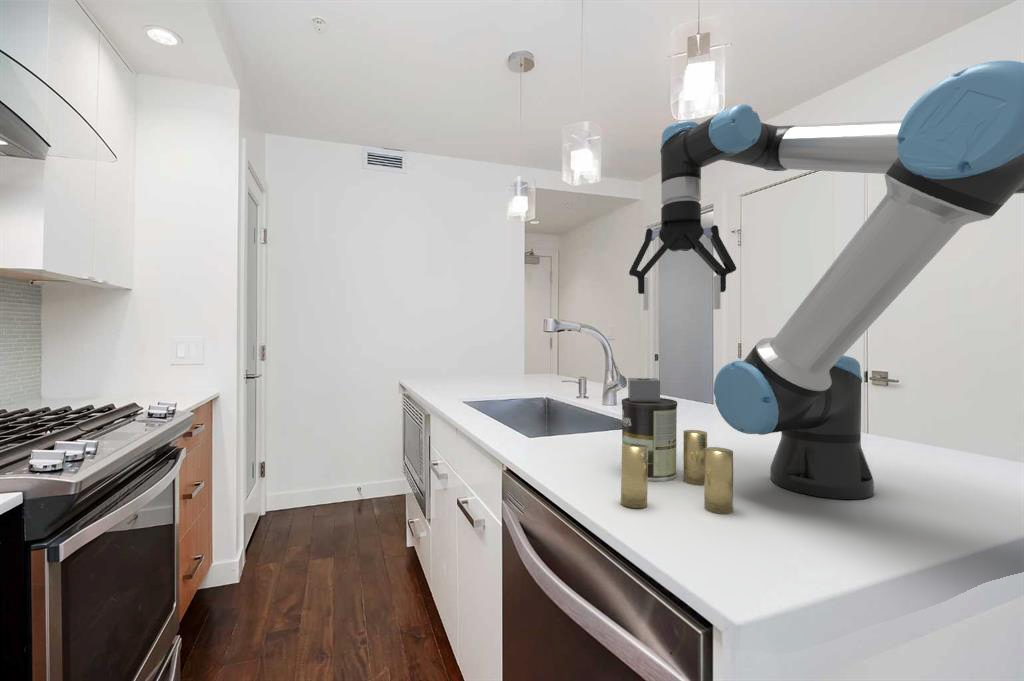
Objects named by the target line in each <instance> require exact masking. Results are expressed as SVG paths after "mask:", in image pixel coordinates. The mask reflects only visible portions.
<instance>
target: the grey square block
mask: <svg viewBox="0 0 1024 681" xmlns="http://www.w3.org/2000/svg"><path fill="white" fill-rule="evenodd" d="M627 391H628V393H627V394H628V395H627V396H628V397H627V398H628V399H629V401H630V402H660V398H661V380H660V379H659V378H654V377H653V378H652V377H651V378H650V377H649V378H647V377H645V378H644V377H628V378H627Z"/></svg>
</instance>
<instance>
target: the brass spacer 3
mask: <svg viewBox="0 0 1024 681" xmlns="http://www.w3.org/2000/svg"><path fill="white" fill-rule="evenodd" d="M703 486H704V492H703V495H704V499H703V500H704V501H703V502H704V503H703V505H704V506H703V507H704V510H706V511H707V512H710V513H712V514H717V515H730V514H733V512H734V451H733V450H732V449H730V448H727V447H726V448H725V447H720V446H719V447H718V446H710V447H709V446H707V448H705V449H704V485H703Z"/></svg>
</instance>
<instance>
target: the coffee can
mask: <svg viewBox="0 0 1024 681" xmlns="http://www.w3.org/2000/svg"><path fill="white" fill-rule="evenodd" d="M677 407H678V401H677V400H675V399H671V398H664V397H660V402H630V401H629V399H628V397H625V398H622V399H621V408H622V412H621V413H622V414H621V416H622V417H621V418H622V420H621V421H622V423H621V426H622V427H621V430H622V433H621V434H622V435H621V436H622V437H621V439H622V444H621V446H622V445H623V444H641V445H646V446H648V482H666V481H673V480H674V479H676V478H677V477H678V476H677V475H678V474H677V420H678V419H677V415H678V414H677V413H678V412H677V410H678V408H677Z"/></svg>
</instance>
